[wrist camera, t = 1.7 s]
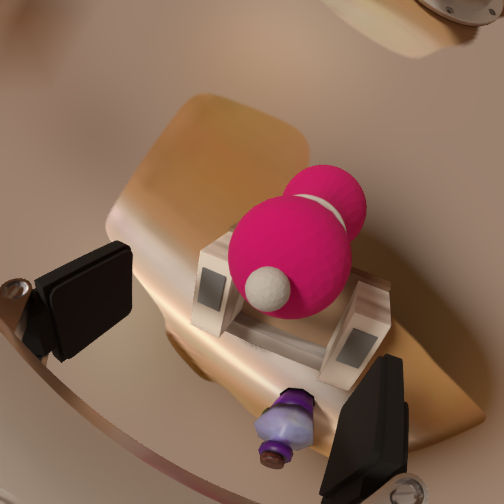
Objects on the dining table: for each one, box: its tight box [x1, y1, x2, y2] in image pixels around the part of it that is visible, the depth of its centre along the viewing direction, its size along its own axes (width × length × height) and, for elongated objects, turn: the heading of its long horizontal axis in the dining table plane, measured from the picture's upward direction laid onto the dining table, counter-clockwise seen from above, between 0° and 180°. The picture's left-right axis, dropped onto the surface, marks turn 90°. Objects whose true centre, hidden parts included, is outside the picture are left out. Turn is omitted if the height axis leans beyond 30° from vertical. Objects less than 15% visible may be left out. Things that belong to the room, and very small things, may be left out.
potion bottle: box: [254, 388, 315, 469], centre depth 34 cm, size 9×9×12 cm
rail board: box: [190, 224, 391, 391], centre depth 30 cm, size 12×18×8 cm, turn 77°
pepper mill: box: [228, 165, 367, 320], centre depth 19 cm, size 7×7×20 cm
